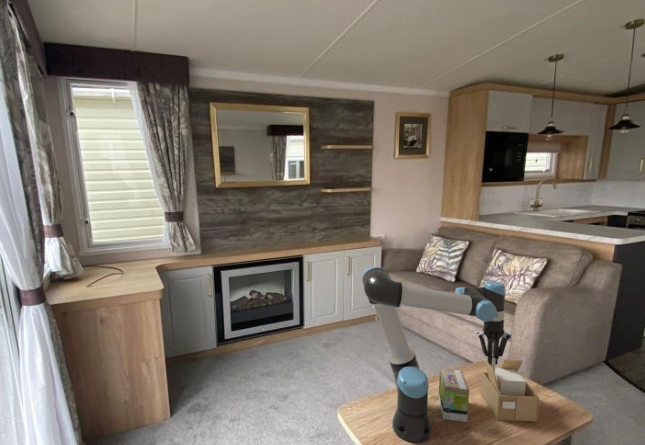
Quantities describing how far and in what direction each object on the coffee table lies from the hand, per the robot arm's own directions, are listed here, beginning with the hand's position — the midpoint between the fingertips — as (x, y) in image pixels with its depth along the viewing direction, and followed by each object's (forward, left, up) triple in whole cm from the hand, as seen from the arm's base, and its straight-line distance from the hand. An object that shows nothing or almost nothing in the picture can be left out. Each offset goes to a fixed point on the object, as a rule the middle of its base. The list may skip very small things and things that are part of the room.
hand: (492, 370), depth 146 cm
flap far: (+11, +8, -2) cm, 14 cm away
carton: (+8, +2, -18) cm, 20 cm away
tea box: (-16, -1, -19) cm, 25 cm away
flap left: (0, 0, -2) cm, 2 cm away
